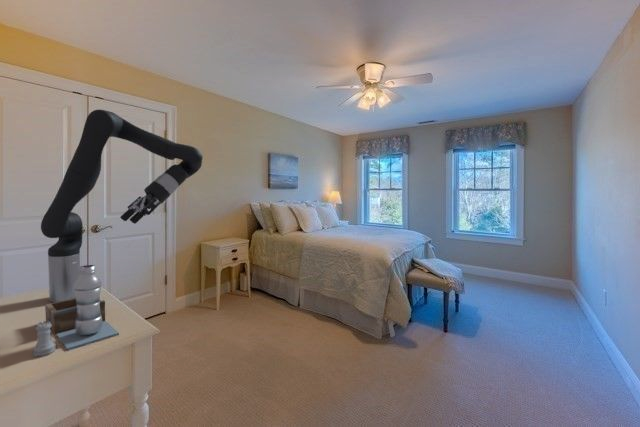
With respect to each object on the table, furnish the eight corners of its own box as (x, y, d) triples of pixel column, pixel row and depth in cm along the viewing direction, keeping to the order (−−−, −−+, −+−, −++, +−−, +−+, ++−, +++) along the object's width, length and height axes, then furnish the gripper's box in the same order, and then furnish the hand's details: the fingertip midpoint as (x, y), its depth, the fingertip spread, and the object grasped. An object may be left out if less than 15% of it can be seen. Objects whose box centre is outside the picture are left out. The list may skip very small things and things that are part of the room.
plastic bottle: (87, 339, 84) (86, 270, 83) (68, 336, 86) (66, 268, 84) (108, 329, 90) (107, 264, 89) (90, 326, 92) (88, 262, 91)
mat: (56, 335, 87) (56, 333, 87) (105, 322, 96) (105, 320, 96) (67, 350, 80) (67, 348, 80) (118, 334, 89) (118, 332, 89)
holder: (45, 322, 95) (45, 301, 94) (93, 311, 105) (92, 292, 104) (55, 335, 87) (54, 312, 87) (105, 321, 97) (105, 301, 96)
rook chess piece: (29, 358, 75) (28, 328, 75) (37, 349, 79) (36, 320, 79) (51, 355, 77) (51, 325, 77) (58, 347, 81) (58, 318, 81)
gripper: (146, 180, 112) (110, 211, 104) (163, 180, 103) (126, 214, 95) (160, 194, 117) (127, 225, 108) (178, 196, 108) (144, 230, 100)
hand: (127, 220), depth 102 cm, fingers open, 8 cm apart
